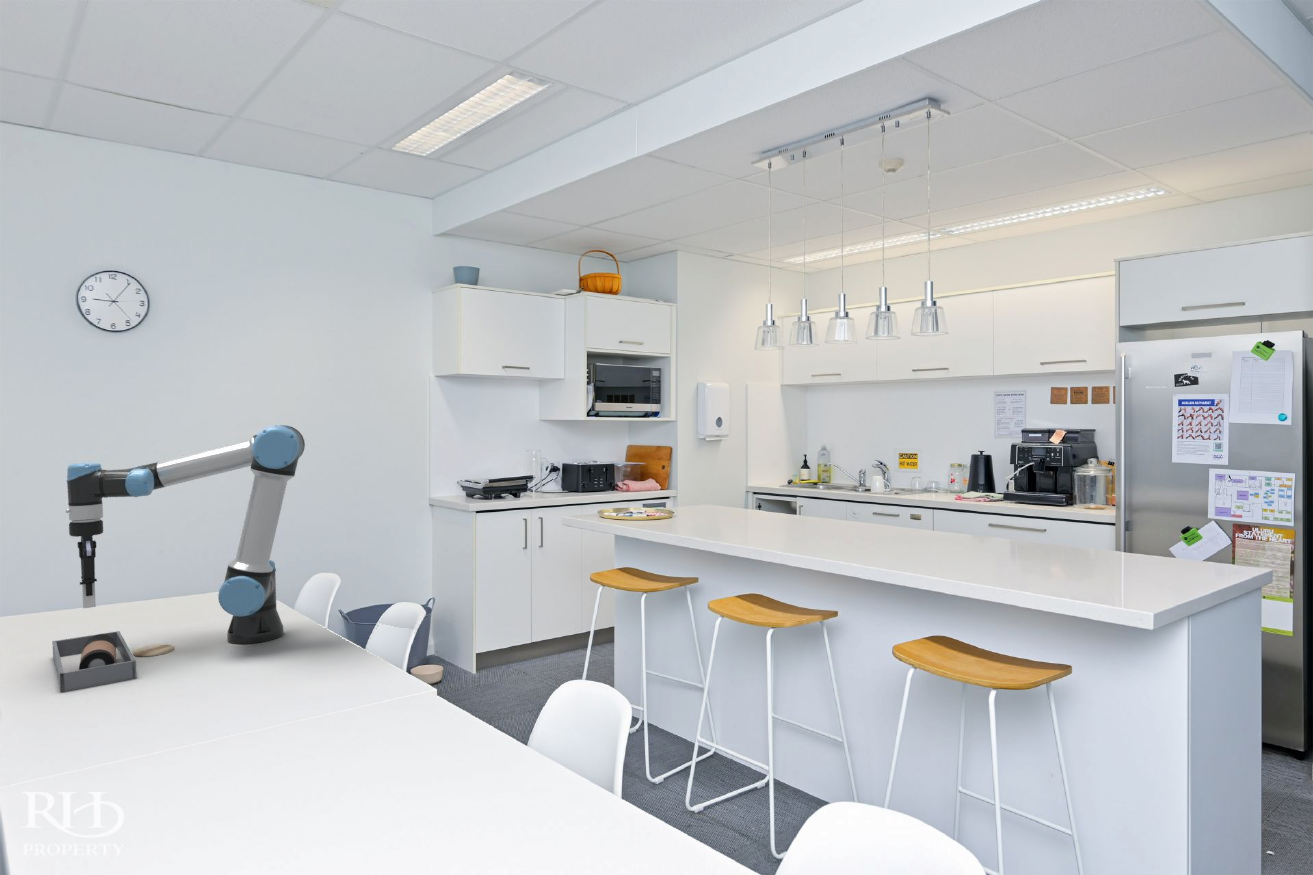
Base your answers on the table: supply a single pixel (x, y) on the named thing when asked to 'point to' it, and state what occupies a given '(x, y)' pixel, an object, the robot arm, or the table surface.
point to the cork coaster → (153, 650)
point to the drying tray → (94, 674)
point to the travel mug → (98, 652)
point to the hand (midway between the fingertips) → (89, 606)
